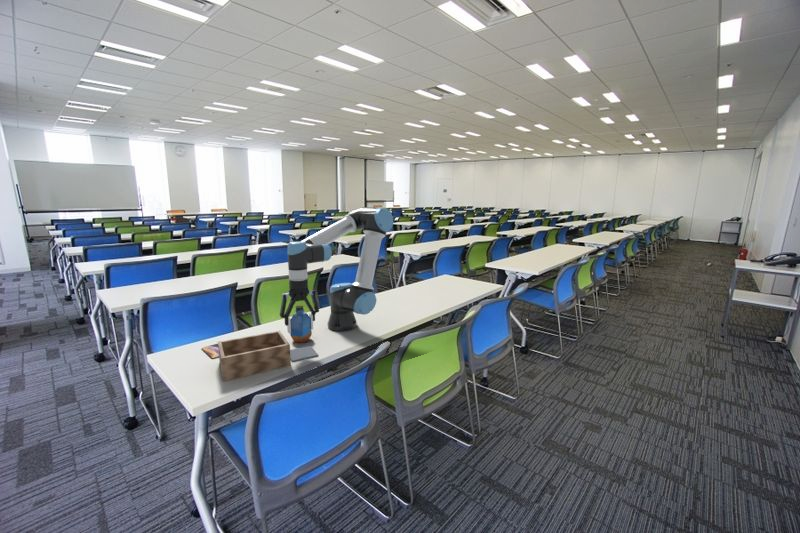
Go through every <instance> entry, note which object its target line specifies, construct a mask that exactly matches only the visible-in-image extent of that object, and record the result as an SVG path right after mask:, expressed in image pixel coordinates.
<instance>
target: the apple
mask: <svg viewBox="0 0 800 533" xmlns="http://www.w3.org/2000/svg"><path fill="white" fill-rule="evenodd" d="M312 334H313V331H312V330H311V332H310V333H308V334H307V335H305V336H304V337H299V336H292V335H290V337H291V340H293V342H295V343H299V344H300V343H305V342H307V341H309V340H310V338H311V337H312Z"/></svg>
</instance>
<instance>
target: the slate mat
mask: <svg viewBox="0 0 800 533" xmlns="http://www.w3.org/2000/svg"><path fill="white" fill-rule="evenodd" d="M316 357H319V354H318V352H316V350H315V349H314V348H313V346H311V345H306V346H302V347H298V348H293V349H290V359H291V362H292V363H295V362H299V361H304V360H308V359H311V358H316Z"/></svg>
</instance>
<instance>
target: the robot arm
mask: <svg viewBox="0 0 800 533" xmlns="http://www.w3.org/2000/svg"><path fill="white" fill-rule="evenodd" d="M393 225H394V216H393V215H392V212H391V211H390V210H389V209H388V208H386V207H381V206H378V207H377V206H376V207H374V206H372V207H369V206H363V207H359V208H357V209H355V210H353V211H351V212H349V213H347V214H345V215H344V216H343V217H342V218H341V219H339V220H338V221H336V222H334V223H333V224H330V225H329V226H327V227H325V228H323V229H321V230H319V231H318V232H315V233H314V234H312V235H310V236H308V237H306V238H304V239H303V240H300V241H290V242H288V243H287V252H286V253H287V264H288V265H287V266H288V267H287V268H288V286H289V288H288V289H289V291H288V292H286V293H284V292H282V293H281V298H282V300H281V305H280V311H279V317H280V318H282V319H284V325H285V326H287V333H288V334H289V335H290V333H291V321H290V320H291V318H290V315H291V312H292V310H293V308H294V306H295V304H296V302H300V301H301V302H302V301H303V302H304V303H305V305H306V307H307V308H308V310H309V313H308V316H309V317H310V322H311V331H312V330H314V322H315V321H316V313H319V312H320V308H319V305H318V301H317V297H316V293H317V292H316V290H315V289H311V290H310V289H309V280H308V277H309V276H308V264H315V263H323V262H327V261H330V260H331V259H332V256H333V254H332V253H333V251H332V248H331V246H330V244H331V243H333V242H335V241H337V240H338V239H340V238H342V237H344V236H345V235H348V233H355V232H357V231H360V230H362V232H363V234H364V239H363V243H362V248H361V253H360V258H359V263H358V266H357V271H356V275H355V280H354V282H341V283H335V284H332V285H331V286H330V288H329V299H330V300H329V301H330V314H329V318H328V321H327V328H328V329H329V330H331V331H334V332H335V331H336V332H345V331H346V330H347V331H350V329H351V330H353V328H354V329H355V328H356V327H357V319H356V317H355V314H358V315H365V316H366V315H368V314H370V312H372V311H374V308H375V307H376V304H377V296H376V295H375V293H374V290H375V288H374V287H373V282H374V276H375V271H376V267H377V263H378V257H379V254H380V248H381V244H382V240H383V239H384V238H385V237H386V235H387V233H388V232H390V230H392V228H393ZM308 295H310V297H311V301H312V304H311V303H310V301H309V298H308ZM289 297H290V300H289V304H288V306H287V302H288V301H287V299H288V298H289ZM312 305H313V306H312ZM286 307H287V308H286ZM354 313H355V314H354Z"/></svg>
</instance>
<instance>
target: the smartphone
mask: <svg viewBox="0 0 800 533" xmlns="http://www.w3.org/2000/svg"><path fill="white" fill-rule="evenodd" d="M200 350H201V351H203V353H204V354H205V355H207V356H208V358H210V359H211V360H215V359H219V350H218V343H215V344H211V345H207V346H204V347H202V348H201V349H200Z"/></svg>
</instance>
